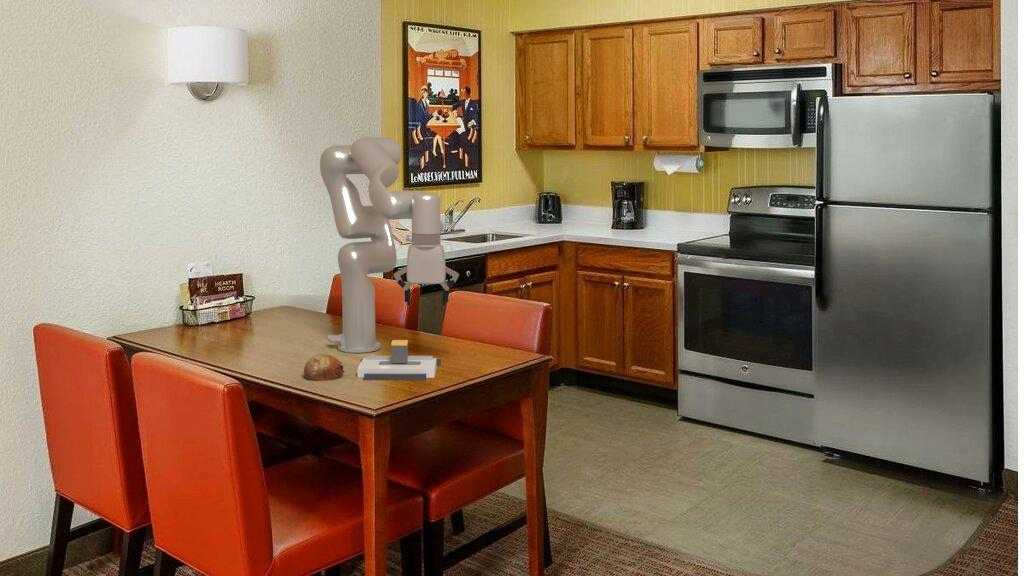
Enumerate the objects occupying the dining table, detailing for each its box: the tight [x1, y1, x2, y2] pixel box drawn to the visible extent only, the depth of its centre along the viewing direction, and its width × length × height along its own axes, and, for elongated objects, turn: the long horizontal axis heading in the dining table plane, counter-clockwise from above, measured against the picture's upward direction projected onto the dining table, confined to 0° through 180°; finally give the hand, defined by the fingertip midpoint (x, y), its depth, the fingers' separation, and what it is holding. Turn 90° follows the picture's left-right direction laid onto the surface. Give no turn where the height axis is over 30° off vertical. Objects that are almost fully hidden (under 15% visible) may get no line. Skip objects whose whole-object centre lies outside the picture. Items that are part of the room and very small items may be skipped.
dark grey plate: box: [360, 358, 442, 381], centre depth 259 cm, size 22×18×1 cm
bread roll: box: [303, 353, 345, 382], centre depth 253 cm, size 10×10×8 cm
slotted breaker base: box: [357, 355, 438, 379], centre depth 258 cm, size 20×12×3 cm, turn 91°
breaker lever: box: [391, 339, 409, 363], centre depth 258 cm, size 4×3×6 cm
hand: (426, 304), depth 256 cm, fingers open, 9 cm apart
